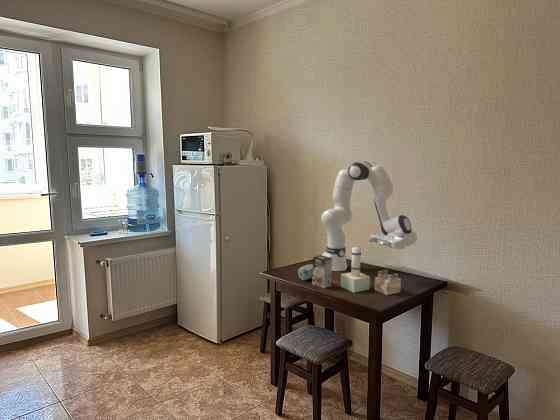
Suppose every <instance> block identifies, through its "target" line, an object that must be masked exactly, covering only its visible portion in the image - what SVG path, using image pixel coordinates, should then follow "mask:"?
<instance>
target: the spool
mask: <svg viewBox="0 0 560 420" xmlns="http://www.w3.org/2000/svg"><path fill="white" fill-rule="evenodd" d="M297 274H298V277H299V279H300V280H301V281H304V282H305V280H306V281H308V280H310V279H312V278H313V263H312V264H306V265H303V266H301V267H299V268H298V269H297Z"/></svg>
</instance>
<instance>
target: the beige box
mask: <svg viewBox="0 0 560 420" xmlns="http://www.w3.org/2000/svg"><path fill="white" fill-rule="evenodd" d="M340 282H341V287H340V288H343V289H345V290H347V291H349V292H352V293H358V292H363V291H368V290H370V288H371V276H369V275H367V274H364V273H361V272H360V276H359V277H354V276H351V272H345V273H341V274H340Z"/></svg>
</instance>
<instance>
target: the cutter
mask: <svg viewBox="0 0 560 420" xmlns="http://www.w3.org/2000/svg"><path fill="white" fill-rule="evenodd" d="M334 285H335V287H340V288H342V287H341V281H338V280H334V279H332V281H331V286H334Z"/></svg>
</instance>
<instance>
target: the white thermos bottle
mask: <svg viewBox="0 0 560 420" xmlns="http://www.w3.org/2000/svg"><path fill="white" fill-rule="evenodd" d="M361 256H362V248H361V247H357V246H356V247H351V266H350V271H351V272H350V273H351V276H354V277H359V276H360V273H361V269H362V268H361V259H362V257H361Z"/></svg>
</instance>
